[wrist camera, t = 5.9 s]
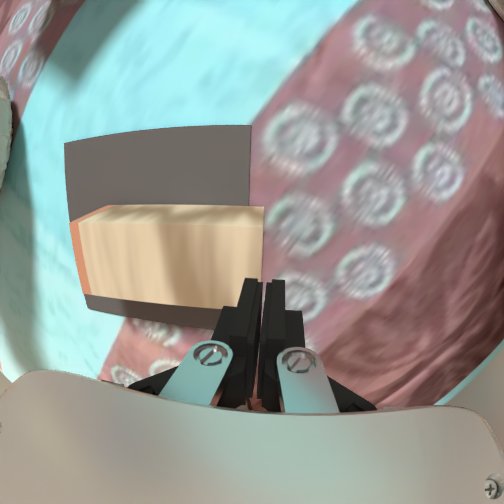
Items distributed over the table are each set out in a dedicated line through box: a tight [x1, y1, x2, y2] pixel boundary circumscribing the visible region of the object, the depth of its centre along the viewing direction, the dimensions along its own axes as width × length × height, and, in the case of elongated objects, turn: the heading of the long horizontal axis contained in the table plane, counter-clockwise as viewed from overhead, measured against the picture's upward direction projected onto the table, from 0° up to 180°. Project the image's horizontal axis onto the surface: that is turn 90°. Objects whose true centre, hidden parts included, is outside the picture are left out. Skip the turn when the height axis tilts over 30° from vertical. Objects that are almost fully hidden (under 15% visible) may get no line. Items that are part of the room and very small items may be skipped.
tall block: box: [69, 205, 264, 309], centre depth 17 cm, size 5×5×12 cm
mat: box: [64, 125, 251, 329], centre depth 20 cm, size 16×16×1 cm
